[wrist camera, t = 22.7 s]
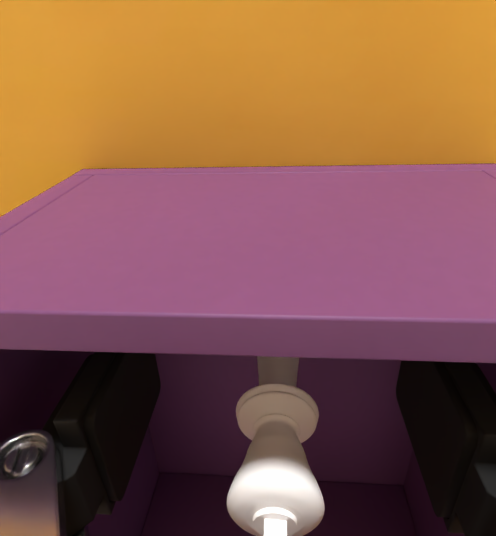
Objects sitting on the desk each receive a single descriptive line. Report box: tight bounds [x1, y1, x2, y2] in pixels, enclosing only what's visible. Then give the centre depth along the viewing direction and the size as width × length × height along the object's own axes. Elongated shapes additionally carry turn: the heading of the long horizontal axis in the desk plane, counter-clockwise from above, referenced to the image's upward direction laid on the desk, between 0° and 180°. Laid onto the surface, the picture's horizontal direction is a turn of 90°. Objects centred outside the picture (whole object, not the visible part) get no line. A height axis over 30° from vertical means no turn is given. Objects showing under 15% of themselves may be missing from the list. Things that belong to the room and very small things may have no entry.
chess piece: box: [227, 356, 325, 536], centre depth 11 cm, size 5×5×10 cm
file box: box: [0, 164, 496, 536], centre depth 14 cm, size 17×14×9 cm
